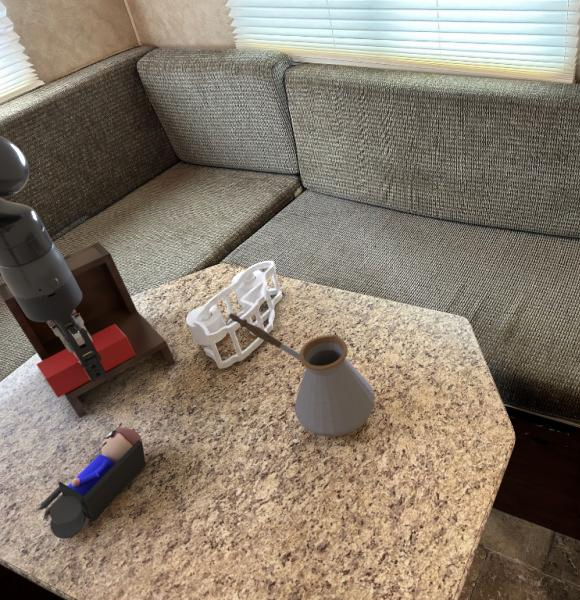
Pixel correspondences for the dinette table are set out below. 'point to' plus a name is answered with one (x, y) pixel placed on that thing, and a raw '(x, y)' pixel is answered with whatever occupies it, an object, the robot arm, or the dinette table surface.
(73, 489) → the character figurine
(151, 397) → the dinette table surface
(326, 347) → the coffee pot
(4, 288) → the shelf rack
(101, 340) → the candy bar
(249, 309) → the car outline toy
